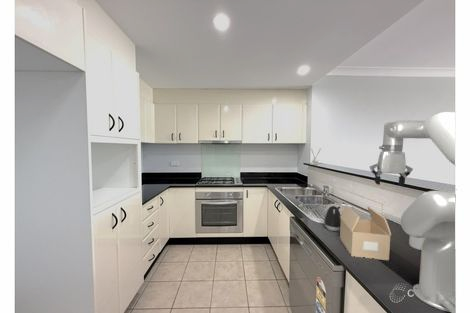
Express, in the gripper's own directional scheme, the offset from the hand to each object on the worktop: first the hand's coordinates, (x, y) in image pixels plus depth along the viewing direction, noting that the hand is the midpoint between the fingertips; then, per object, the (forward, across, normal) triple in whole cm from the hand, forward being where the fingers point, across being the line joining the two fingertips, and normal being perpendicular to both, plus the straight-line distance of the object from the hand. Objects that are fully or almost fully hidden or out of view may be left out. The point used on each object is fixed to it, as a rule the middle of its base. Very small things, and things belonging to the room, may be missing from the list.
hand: (389, 184), depth 100 cm
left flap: (+20, -15, +5) cm, 25 cm away
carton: (+35, -8, +5) cm, 36 cm away
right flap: (+20, -1, +5) cm, 20 cm away
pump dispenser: (+36, -18, +26) cm, 48 cm away
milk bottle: (+36, +22, +14) cm, 44 cm away
